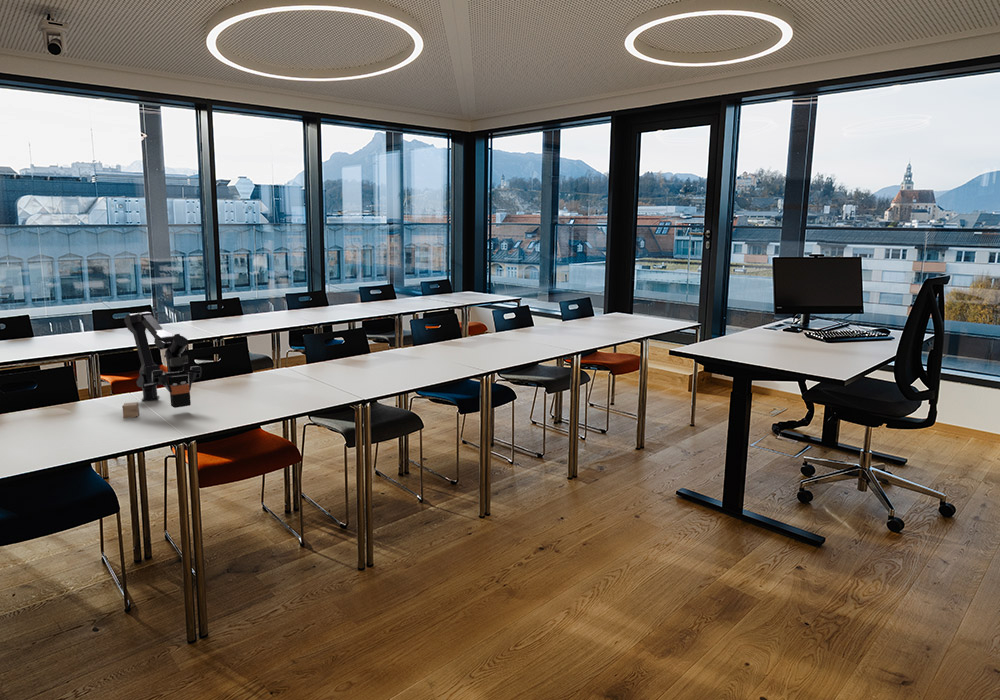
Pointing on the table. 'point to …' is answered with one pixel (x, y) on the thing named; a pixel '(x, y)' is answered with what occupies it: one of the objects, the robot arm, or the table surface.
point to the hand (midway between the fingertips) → (180, 391)
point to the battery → (180, 395)
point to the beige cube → (130, 409)
